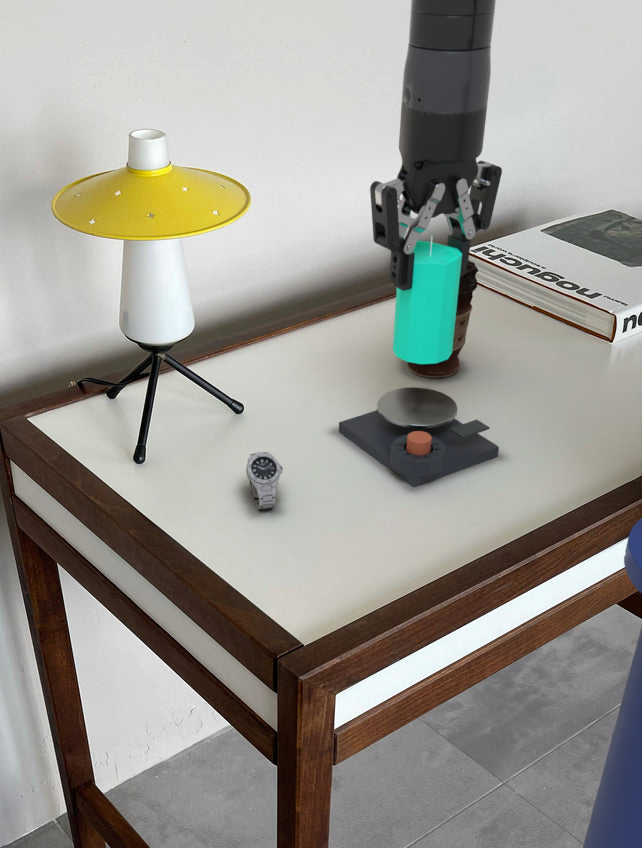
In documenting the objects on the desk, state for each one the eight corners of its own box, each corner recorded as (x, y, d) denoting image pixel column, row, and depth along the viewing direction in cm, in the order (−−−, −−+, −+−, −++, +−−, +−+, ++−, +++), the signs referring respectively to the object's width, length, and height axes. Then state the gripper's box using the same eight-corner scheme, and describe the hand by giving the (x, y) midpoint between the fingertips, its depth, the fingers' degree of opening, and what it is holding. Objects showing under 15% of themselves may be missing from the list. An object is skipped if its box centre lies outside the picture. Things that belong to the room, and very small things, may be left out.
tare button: (435, 452, 100) (436, 438, 99) (416, 458, 99) (417, 445, 98) (420, 441, 102) (421, 428, 101) (401, 448, 101) (402, 434, 100)
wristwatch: (251, 517, 96) (250, 472, 93) (238, 483, 101) (237, 439, 98) (287, 513, 96) (287, 468, 94) (273, 478, 101) (273, 435, 99)
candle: (382, 344, 105) (389, 230, 98) (433, 335, 106) (444, 222, 100) (409, 368, 100) (419, 250, 93) (463, 358, 102) (475, 241, 95)
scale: (502, 459, 104) (505, 434, 102) (411, 492, 99) (414, 466, 97) (418, 405, 114) (421, 381, 112) (332, 433, 109) (333, 408, 107)
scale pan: (494, 427, 104) (494, 424, 103) (429, 449, 100) (430, 446, 100) (423, 383, 112) (423, 380, 111) (361, 403, 108) (361, 399, 108)
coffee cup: (485, 373, 120) (498, 268, 113) (430, 390, 117) (440, 283, 109) (437, 346, 126) (447, 245, 119) (384, 362, 123) (391, 259, 116)
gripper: (406, 119, 84) (393, 309, 93) (534, 97, 90) (510, 278, 99) (353, 101, 89) (346, 283, 98) (478, 82, 95) (460, 255, 105)
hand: (428, 280), depth 99 cm, fingers closed on candle, 6 cm apart
